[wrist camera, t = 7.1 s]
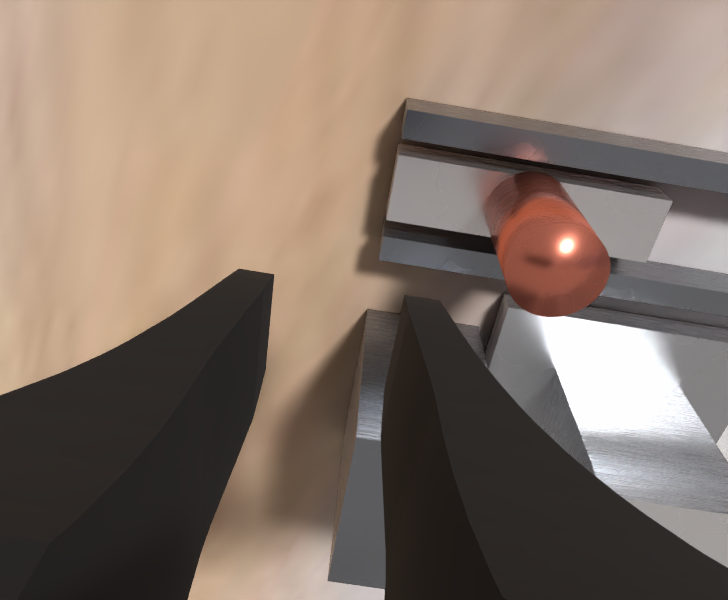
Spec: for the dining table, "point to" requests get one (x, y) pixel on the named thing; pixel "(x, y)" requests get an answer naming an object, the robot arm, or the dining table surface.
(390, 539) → the robot arm
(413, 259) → the press
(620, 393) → the block
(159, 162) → the dining table surface
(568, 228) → the lever
